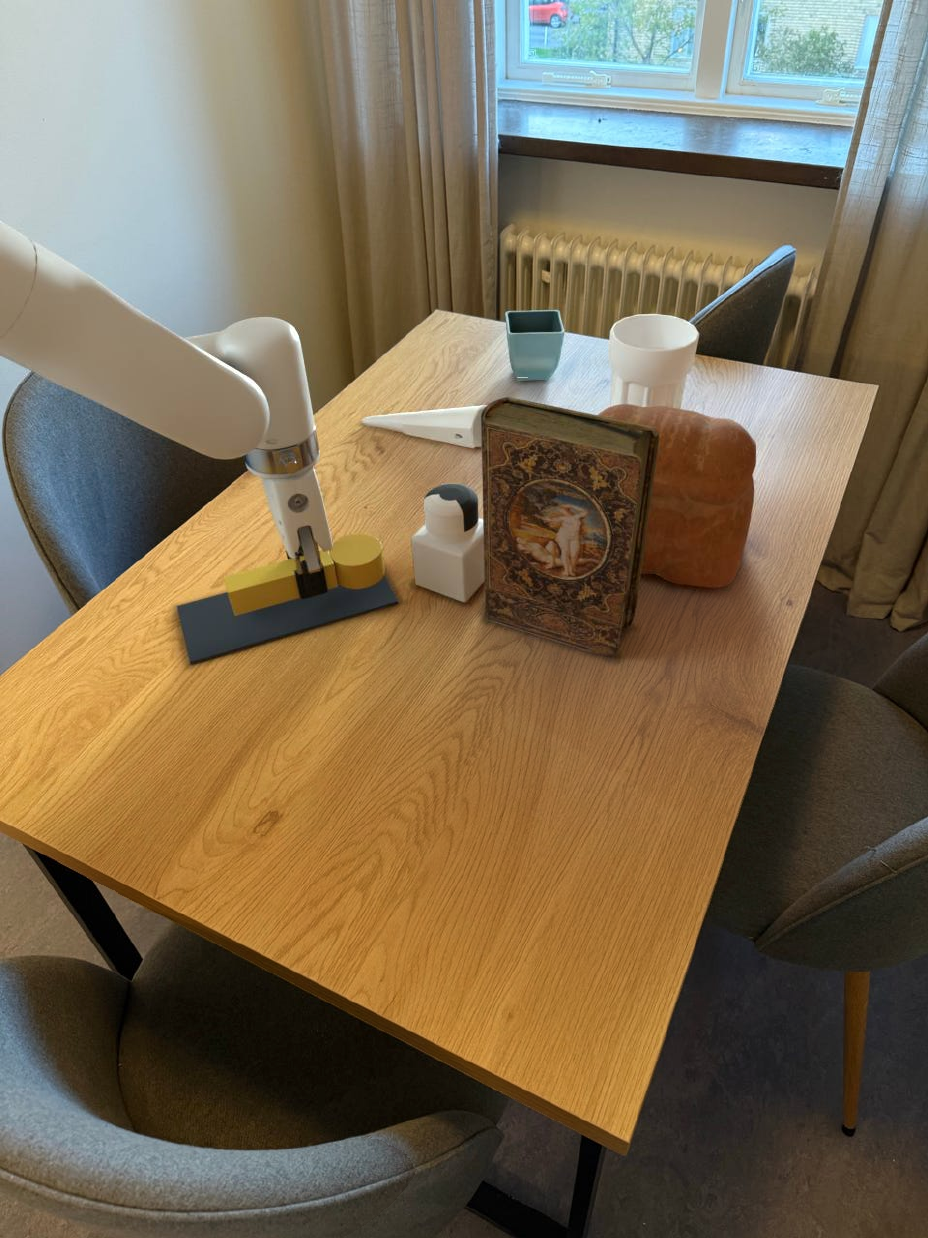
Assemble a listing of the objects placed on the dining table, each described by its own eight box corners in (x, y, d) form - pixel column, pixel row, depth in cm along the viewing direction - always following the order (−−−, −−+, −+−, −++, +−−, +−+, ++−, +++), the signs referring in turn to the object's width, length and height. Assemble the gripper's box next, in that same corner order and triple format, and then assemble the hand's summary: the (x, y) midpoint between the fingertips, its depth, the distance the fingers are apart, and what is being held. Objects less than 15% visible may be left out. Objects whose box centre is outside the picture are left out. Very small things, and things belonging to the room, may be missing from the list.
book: (478, 617, 94) (472, 420, 77) (498, 588, 98) (497, 394, 81) (617, 660, 89) (643, 458, 72) (633, 628, 92) (662, 428, 75)
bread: (730, 607, 94) (762, 482, 83) (548, 569, 100) (554, 447, 89) (750, 520, 106) (779, 400, 95) (586, 490, 112) (595, 374, 101)
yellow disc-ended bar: (237, 624, 92) (230, 601, 90) (227, 592, 96) (220, 568, 94) (391, 580, 97) (388, 557, 94) (375, 551, 101) (372, 528, 98)
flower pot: (556, 361, 140) (559, 308, 134) (562, 386, 134) (565, 332, 128) (504, 363, 140) (504, 310, 134) (507, 388, 134) (507, 334, 128)
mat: (190, 664, 91) (189, 662, 90) (177, 608, 97) (176, 605, 97) (398, 603, 97) (398, 600, 96) (372, 554, 104) (372, 552, 103)
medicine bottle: (445, 552, 103) (440, 470, 95) (495, 569, 101) (494, 486, 92) (414, 585, 99) (405, 501, 91) (465, 604, 96) (461, 520, 88)
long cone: (385, 416, 132) (494, 430, 124) (364, 439, 128) (475, 455, 120) (376, 384, 128) (488, 396, 120) (354, 406, 124) (468, 421, 116)
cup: (662, 478, 114) (680, 358, 102) (586, 457, 118) (595, 339, 106) (691, 440, 120) (711, 323, 109) (619, 421, 125) (631, 307, 113)
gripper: (339, 478, 79) (361, 619, 92) (297, 402, 90) (322, 537, 103) (261, 497, 77) (295, 639, 90) (228, 417, 88) (262, 553, 101)
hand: (309, 583), depth 96 cm, fingers closed on yellow disc-ended bar, 3 cm apart
